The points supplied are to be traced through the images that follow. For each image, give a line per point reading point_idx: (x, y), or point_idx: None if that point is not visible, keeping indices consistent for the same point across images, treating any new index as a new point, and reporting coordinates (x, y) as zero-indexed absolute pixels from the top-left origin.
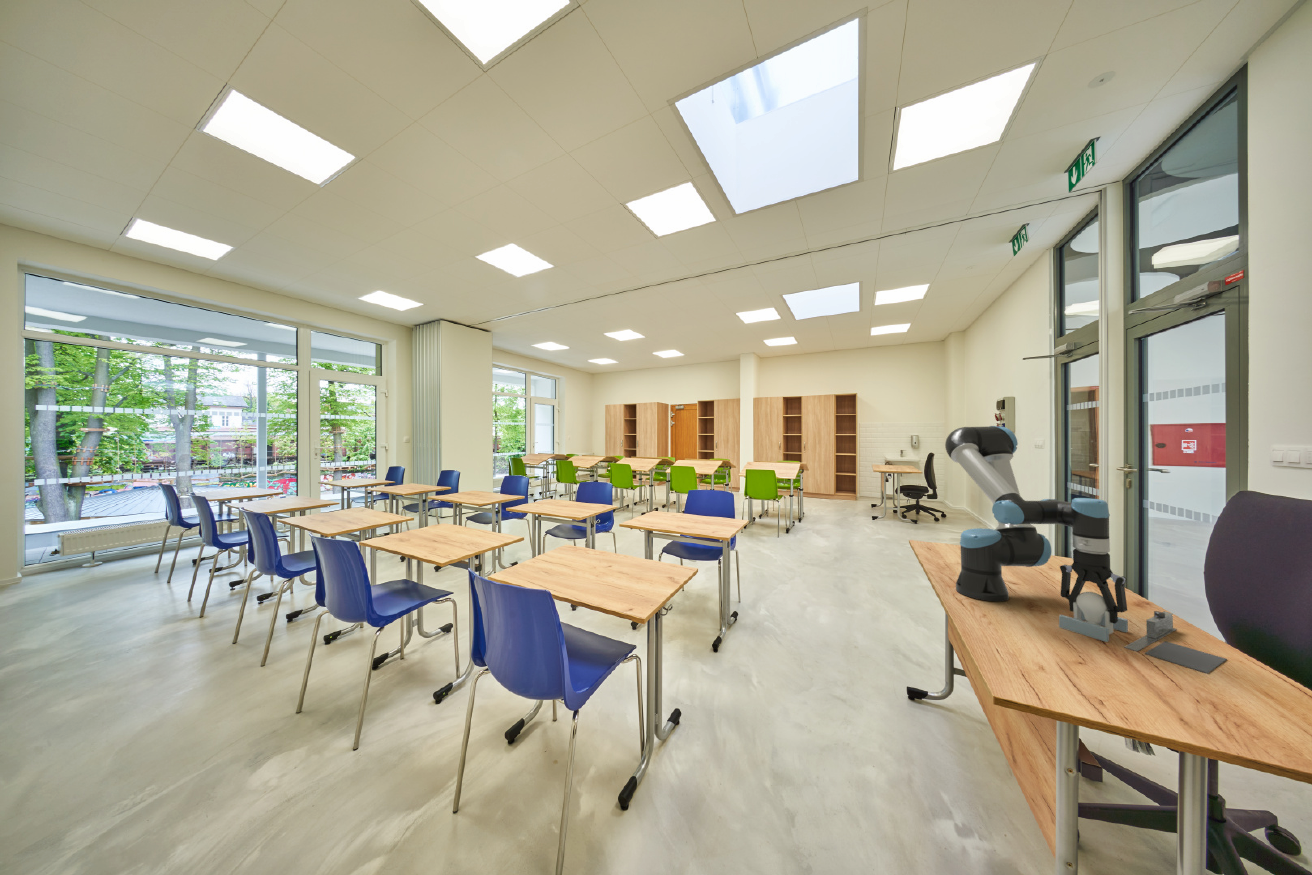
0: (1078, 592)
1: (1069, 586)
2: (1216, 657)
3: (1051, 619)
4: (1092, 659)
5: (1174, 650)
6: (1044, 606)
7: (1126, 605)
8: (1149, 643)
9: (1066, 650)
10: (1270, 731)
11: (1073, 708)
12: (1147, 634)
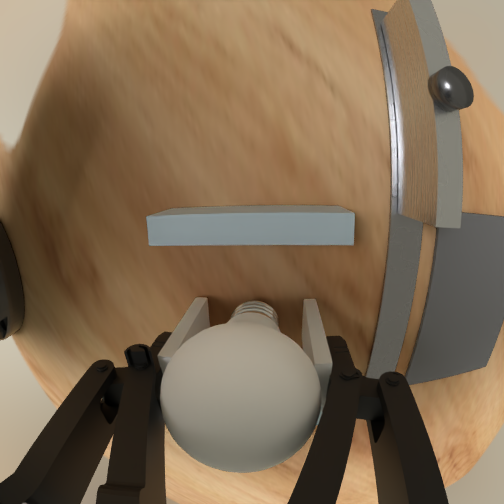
0: (159, 434)
1: (88, 415)
2: None
3: (143, 336)
4: None
5: (460, 287)
6: (62, 204)
7: (411, 399)
8: (412, 289)
9: (279, 478)
10: (477, 450)
11: None
12: (402, 214)
